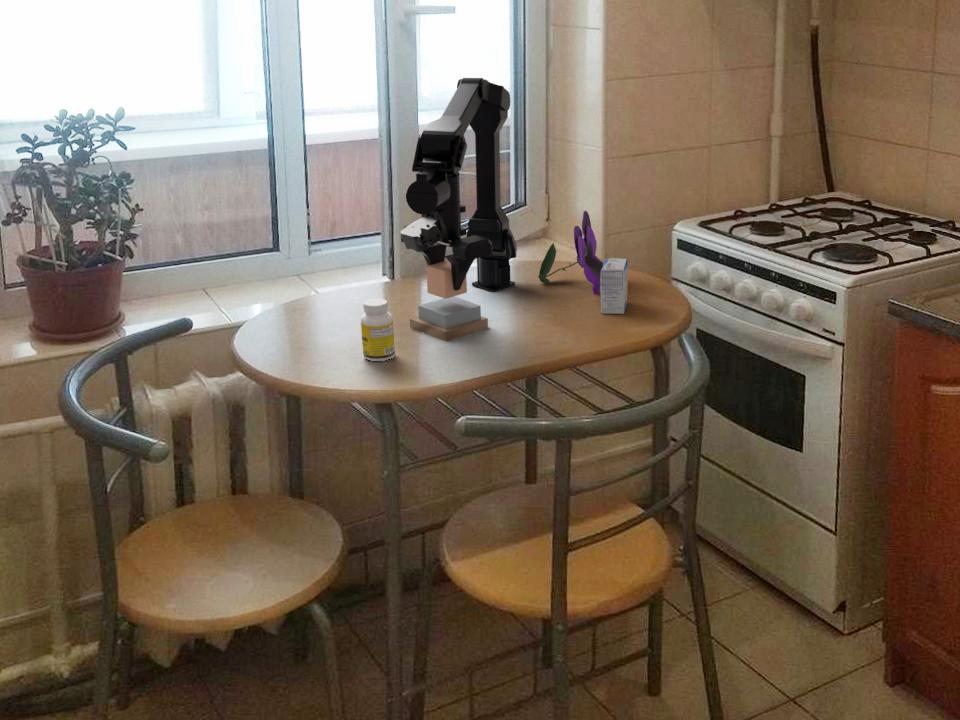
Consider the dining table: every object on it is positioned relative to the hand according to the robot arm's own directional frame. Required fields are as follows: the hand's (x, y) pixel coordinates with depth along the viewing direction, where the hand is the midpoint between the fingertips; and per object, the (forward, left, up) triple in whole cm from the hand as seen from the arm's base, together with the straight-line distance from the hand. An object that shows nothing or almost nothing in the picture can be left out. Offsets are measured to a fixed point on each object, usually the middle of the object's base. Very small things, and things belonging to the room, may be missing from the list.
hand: (447, 287), depth 200 cm
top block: (0, 0, -6) cm, 6 cm away
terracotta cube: (0, 0, -1) cm, 1 cm away
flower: (-1, +34, -8) cm, 35 cm away
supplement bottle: (+3, -18, -8) cm, 20 cm away
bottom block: (0, 0, -8) cm, 8 cm away
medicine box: (+14, +29, -8) cm, 33 cm away
